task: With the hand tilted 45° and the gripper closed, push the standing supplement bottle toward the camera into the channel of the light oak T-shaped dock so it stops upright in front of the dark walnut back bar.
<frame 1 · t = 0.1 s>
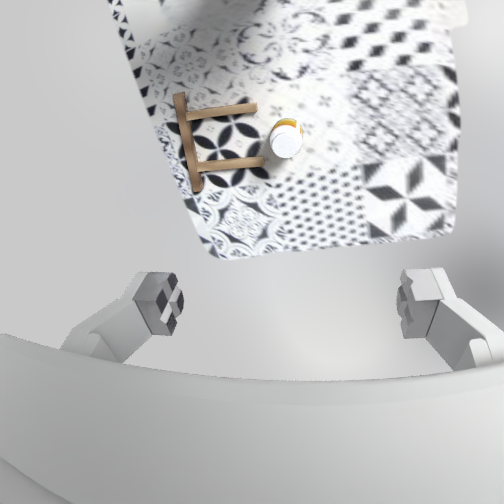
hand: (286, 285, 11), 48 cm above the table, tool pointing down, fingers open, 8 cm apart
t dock: (218, 137, 56), on the table
supplement bottle: (288, 131, 53), on the table
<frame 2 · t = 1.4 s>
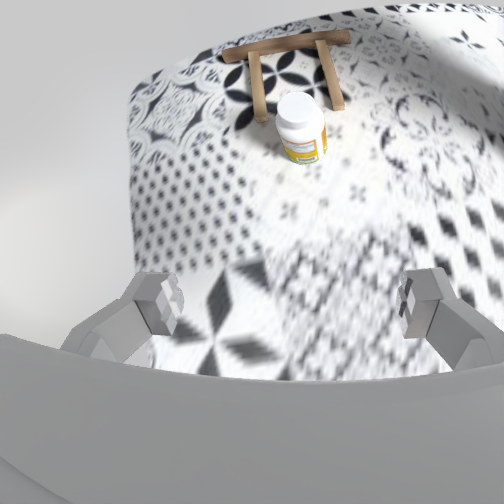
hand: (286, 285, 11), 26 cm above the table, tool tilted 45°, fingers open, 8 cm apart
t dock: (292, 72, 40), on the table
supplement bottle: (306, 147, 38), on the table
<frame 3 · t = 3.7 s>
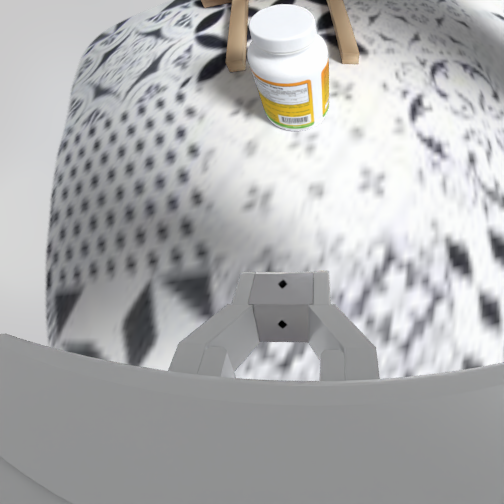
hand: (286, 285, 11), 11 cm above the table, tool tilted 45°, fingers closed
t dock: (288, 17, 26), on the table
supplement bottle: (296, 108, 24), on the table
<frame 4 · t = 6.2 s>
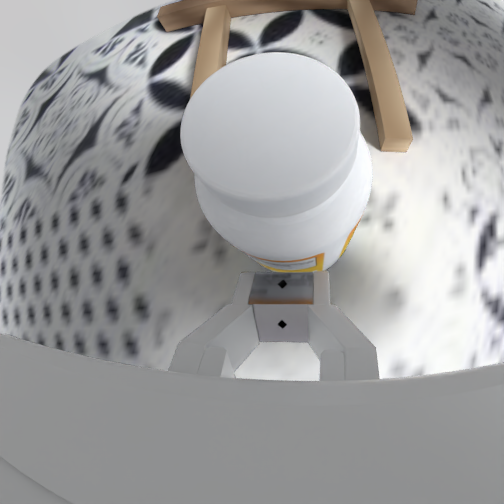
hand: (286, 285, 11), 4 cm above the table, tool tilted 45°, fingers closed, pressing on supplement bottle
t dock: (292, 50, 17), on the table
supplement bottle: (298, 225, 16), on the table, touching gripper
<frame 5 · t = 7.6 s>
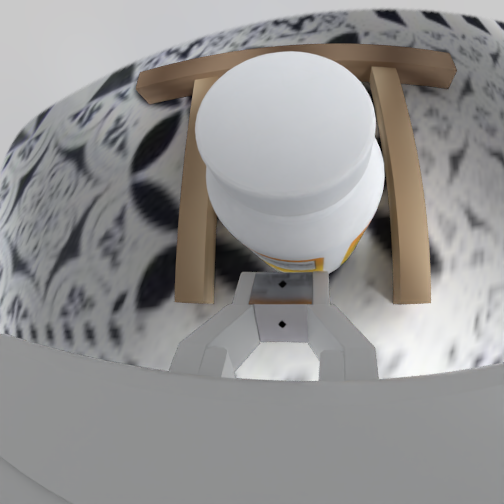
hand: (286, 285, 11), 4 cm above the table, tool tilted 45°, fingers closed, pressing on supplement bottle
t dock: (300, 152, 16), on the table
supplement bottle: (305, 226, 16), on the table, touching gripper
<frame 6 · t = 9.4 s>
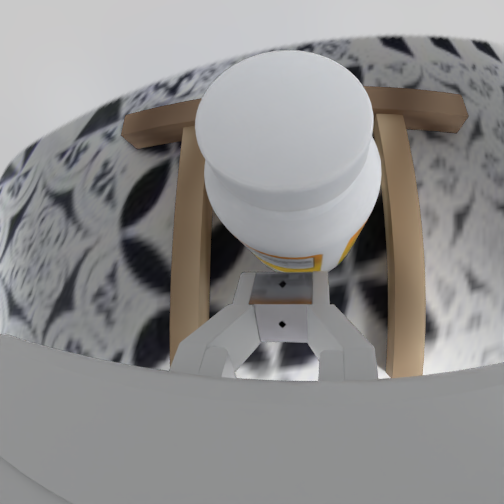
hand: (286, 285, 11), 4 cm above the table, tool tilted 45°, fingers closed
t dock: (297, 214, 16), on the table
supplement bottle: (302, 226, 16), on the table
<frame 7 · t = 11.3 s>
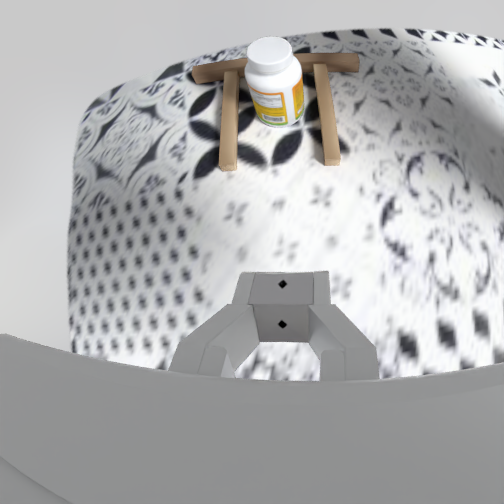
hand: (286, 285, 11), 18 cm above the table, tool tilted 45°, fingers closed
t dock: (277, 105, 32), on the table
supplement bottle: (280, 110, 32), on the table
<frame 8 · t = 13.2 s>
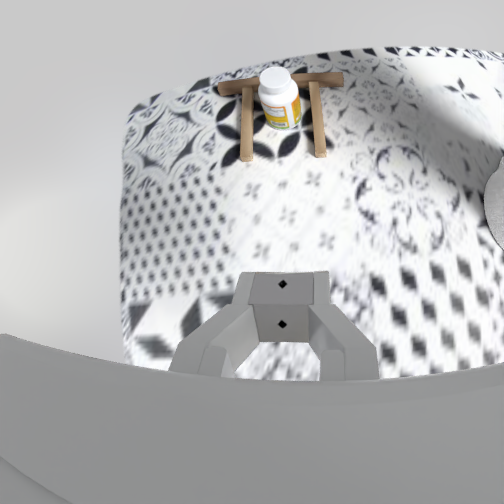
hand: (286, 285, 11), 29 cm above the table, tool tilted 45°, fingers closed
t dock: (282, 113, 44), on the table
supplement bottle: (284, 117, 44), on the table
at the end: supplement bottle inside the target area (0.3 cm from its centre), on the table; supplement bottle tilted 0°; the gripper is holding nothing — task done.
